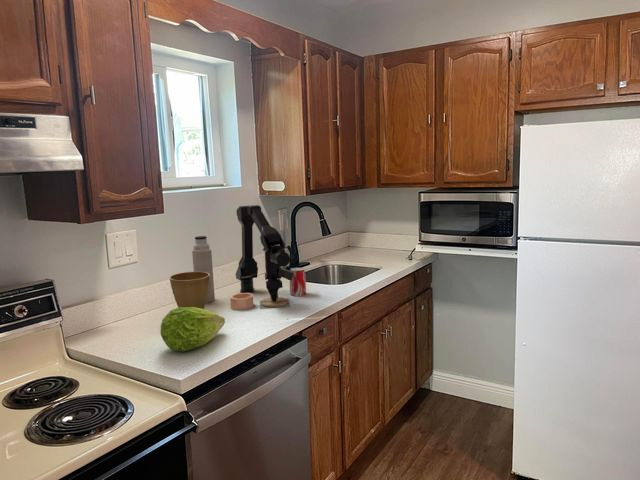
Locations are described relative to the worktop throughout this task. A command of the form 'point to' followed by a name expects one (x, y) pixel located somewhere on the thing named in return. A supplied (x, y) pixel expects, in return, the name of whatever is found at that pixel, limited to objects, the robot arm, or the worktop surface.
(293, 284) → the soda can
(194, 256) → the thermos bottle
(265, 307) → the mat
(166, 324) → the lettuce
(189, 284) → the plant pot
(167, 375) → the worktop surface
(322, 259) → the worktop surface
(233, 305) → the bowl
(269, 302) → the lid
